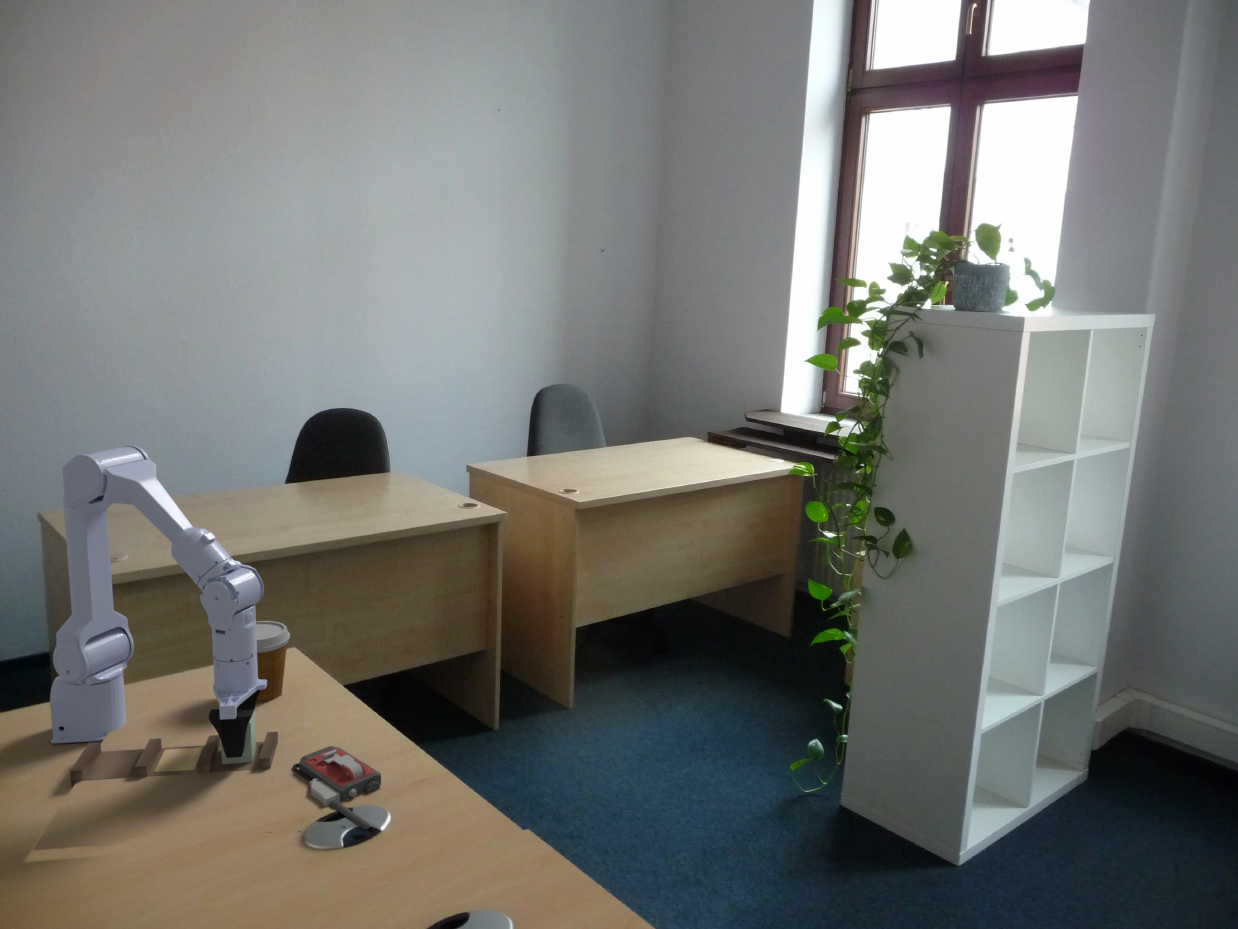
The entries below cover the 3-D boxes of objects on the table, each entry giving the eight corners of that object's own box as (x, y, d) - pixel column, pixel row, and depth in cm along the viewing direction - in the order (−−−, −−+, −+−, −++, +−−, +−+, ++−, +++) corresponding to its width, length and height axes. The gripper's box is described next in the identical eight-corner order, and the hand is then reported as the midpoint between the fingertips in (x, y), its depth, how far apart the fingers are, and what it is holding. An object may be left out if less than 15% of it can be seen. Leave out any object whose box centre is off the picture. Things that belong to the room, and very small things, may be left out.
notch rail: (71, 788, 131) (70, 770, 130) (90, 758, 138) (88, 742, 138) (270, 774, 136) (270, 758, 135) (278, 747, 144) (277, 731, 143)
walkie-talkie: (278, 781, 135) (360, 840, 122) (277, 752, 134) (359, 808, 121) (334, 759, 141) (417, 813, 128) (333, 731, 140) (417, 783, 127)
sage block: (222, 764, 136) (220, 724, 135) (227, 750, 140) (225, 711, 139) (252, 762, 137) (250, 722, 136) (256, 748, 141) (254, 710, 140)
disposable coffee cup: (228, 692, 161) (225, 623, 159) (288, 684, 165) (286, 617, 163) (232, 716, 153) (229, 644, 150) (295, 707, 157) (293, 637, 154)
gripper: (257, 673, 129) (261, 767, 132) (272, 633, 143) (275, 719, 146) (201, 676, 128) (205, 770, 131) (221, 635, 142) (225, 722, 144)
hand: (238, 744), depth 138 cm, fingers open, 7 cm apart
